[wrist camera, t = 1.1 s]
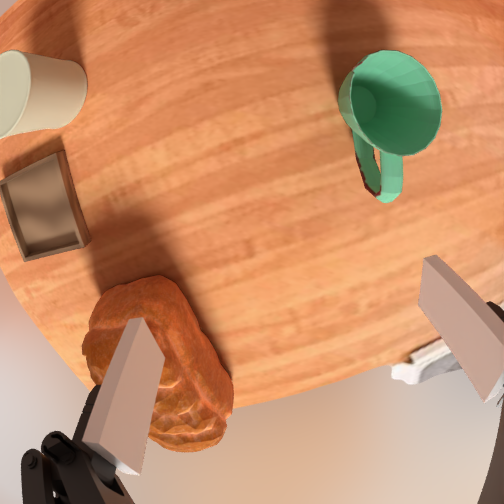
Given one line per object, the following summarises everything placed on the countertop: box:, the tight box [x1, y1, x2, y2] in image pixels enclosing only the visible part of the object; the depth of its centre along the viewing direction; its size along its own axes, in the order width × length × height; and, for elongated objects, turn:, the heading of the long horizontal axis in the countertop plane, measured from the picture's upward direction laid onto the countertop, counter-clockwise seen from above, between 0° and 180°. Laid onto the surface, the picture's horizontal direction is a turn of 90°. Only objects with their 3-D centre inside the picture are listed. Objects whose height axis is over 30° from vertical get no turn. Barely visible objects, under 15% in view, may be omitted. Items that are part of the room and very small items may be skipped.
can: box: [0, 50, 87, 139], centre depth 21 cm, size 9×9×12 cm
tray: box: [0, 150, 91, 262], centre depth 31 cm, size 13×13×2 cm
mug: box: [338, 50, 442, 203], centre depth 25 cm, size 15×10×10 cm
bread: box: [82, 275, 234, 452], centre depth 36 cm, size 14×26×16 cm, turn 17°
